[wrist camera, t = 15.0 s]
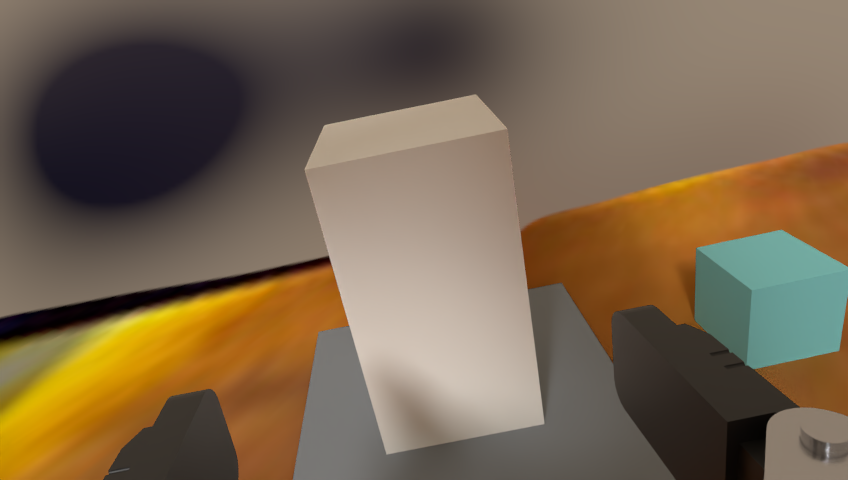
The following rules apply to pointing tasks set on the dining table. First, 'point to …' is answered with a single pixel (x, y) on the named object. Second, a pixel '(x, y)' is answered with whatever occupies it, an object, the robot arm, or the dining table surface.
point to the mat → (496, 453)
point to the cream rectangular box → (430, 269)
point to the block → (770, 298)
